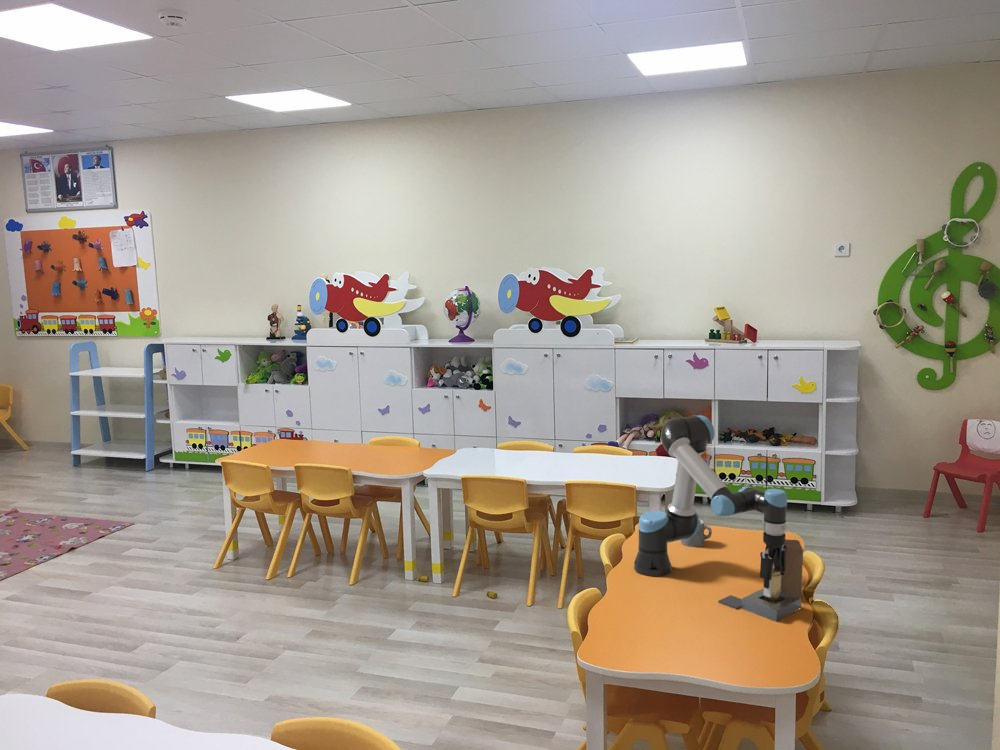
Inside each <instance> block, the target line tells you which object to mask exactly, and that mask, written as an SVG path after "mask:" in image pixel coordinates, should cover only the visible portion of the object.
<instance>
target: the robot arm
mask: <svg viewBox="0 0 1000 750" xmlns="http://www.w3.org/2000/svg"><path fill="white" fill-rule="evenodd" d="M714 428H715V427H714V426H713V424H712V422H711V420H710V419H709V418H708V417H707V416H704V415H696V414H695V415H690V416H685V417H684V416H683V417H675V418H671V419H669V420H668V421H666V422H665V423H664V425H663V426H662V428H661V431H660V441H661V444H662V447H663V449H664V450H665V451H666V453H667V454H668V455H669V456H670V457H672V458H673V457H674V458H675V459H676V461H677V467H676V473H675V480H674V487H673V488H674V489H673V493H672V494H673V495H672V500H671V502H670V503H669V504H668V505H667V507H666V512H665V511H663V510H655V511H654V510H651V511H646V512H644V513H642V514H641V515H640V517H639V520H638V526H637V528H638V551H637V554H636V557H635V560H634V562H633V569H634V571H635V572H636V573H638V574H641V575H643V576H650V577H661V576H666V575H669V574H670V573H671V572H672V563H671V559H670V557H669V554H668V553H669V552H668V543H672V542H677V541H681V540H682V539H688V538H690V537H693V536H695V535H696V534H697V532H698V531H699V528H700V520H701V519H700V520H699V518H700V516H699V514H698V513H697V510H696V508H695V507H694V504H695V503H694V502H695V496H696V488H697V486H699V487H700V489H702V491H703V493H705V494H706V495H707V497H708V498H709V499H710V500H711V501H710V508H711V509H712V512H713V513H714V515H715V516H717V517H730V516H733V515H736V514H741V513H747V512H750V511H756V512H759V513H762V514H763V533H762V535H763V536H762V541H763V543H764V544H765V547H764V551H761V552H759V553H760V554H759V555H760V569H759V571H760V572H759V578H760V579H762V580H763V588H764V591H763V595H764V596H767V597H771V589H772V580H771V579H770V578H771V573H772V568H773V563H774V568H775V569H778V570H780V571H781V575H784V574H785V573H783V572H785V567H786V549H787V546H786V545H784V544H785V539H786V529H787V527H786V526H787V525H786V524H787V508H788V497H787V493H786V491H785V490H783V489H778V488H768V489H765V491H763V490H760V489H758V488H755V487H752V486H746V485H745V486H743V487H741V488H740V489H738V491H735V492H732V491H731V490H730V488H729V487H728V486H727V485H726V484H725V483H724V482H723V480H722V479H721V478H720V476H718V475H717V473H716V472H715V471H714V470H713V469H712V468H711V467H710V465H709V464H708V463H707V462H706V461H705V460H704V459H703V458H702V454H704V453H706V450H707V445H708V444H710V443H711V442H713V440H714V438H715V429H714ZM782 567H783V568H782ZM780 592H781V579H780Z"/></svg>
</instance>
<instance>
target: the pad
mask: <svg viewBox="0 0 1000 750" xmlns="http://www.w3.org/2000/svg"><path fill="white" fill-rule="evenodd" d="M718 602H719V603H718ZM717 603H718V604H720V603H722V604H721V605H723V604H725V605H724V606H726V605H727V606H726V607H728V606H729V607H728V608H731V607H732V608H731V609H734V608H735V609H734V610H738V609H740V608H742V598H739V597H737V596H734V595H731V594H730V595H728V596H726V597H724V598H721V599H719V600H718V601H717Z"/></svg>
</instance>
